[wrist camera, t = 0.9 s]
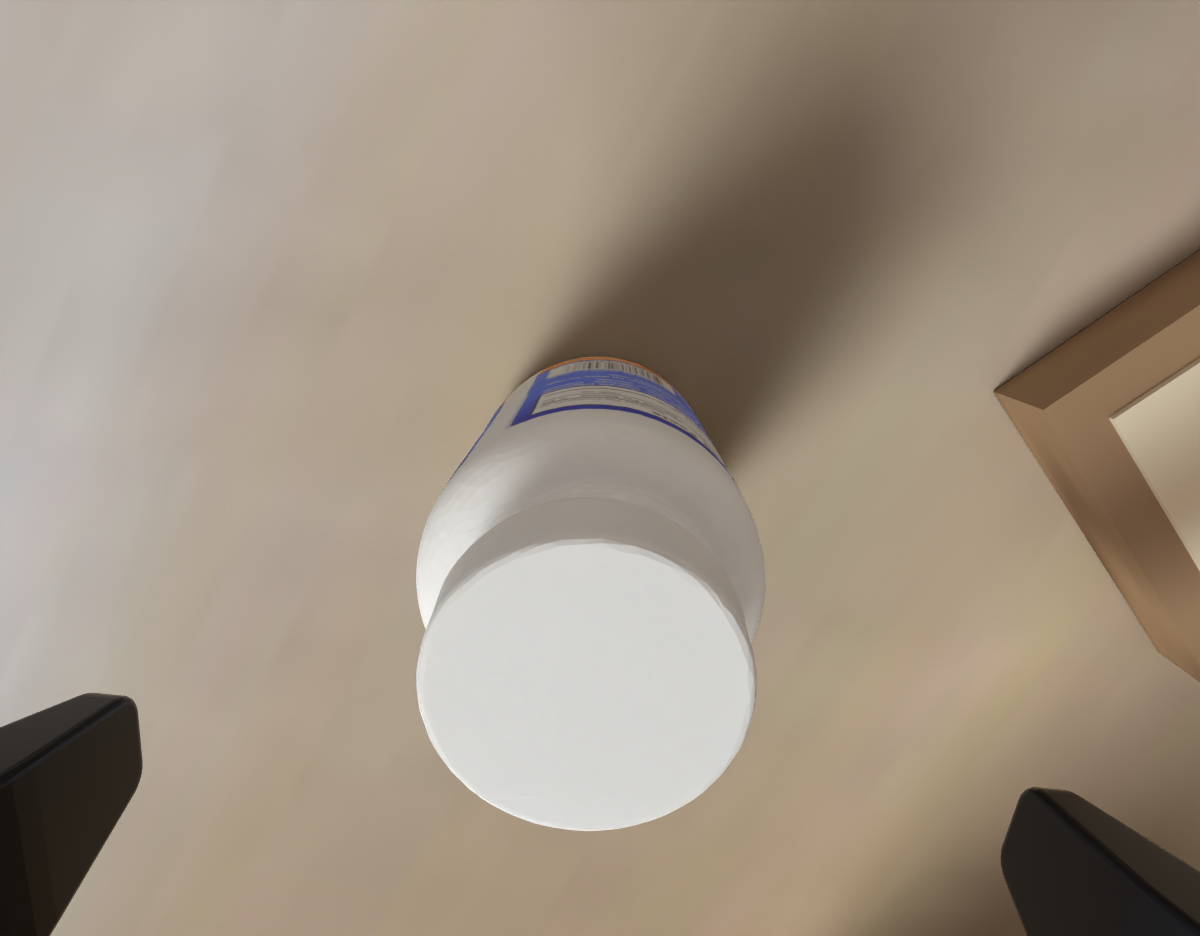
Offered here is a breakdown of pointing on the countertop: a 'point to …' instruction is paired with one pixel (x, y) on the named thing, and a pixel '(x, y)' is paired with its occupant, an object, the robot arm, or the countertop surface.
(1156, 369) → the walnut picture frame
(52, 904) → the robot arm
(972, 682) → the countertop surface
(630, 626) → the pill bottle
